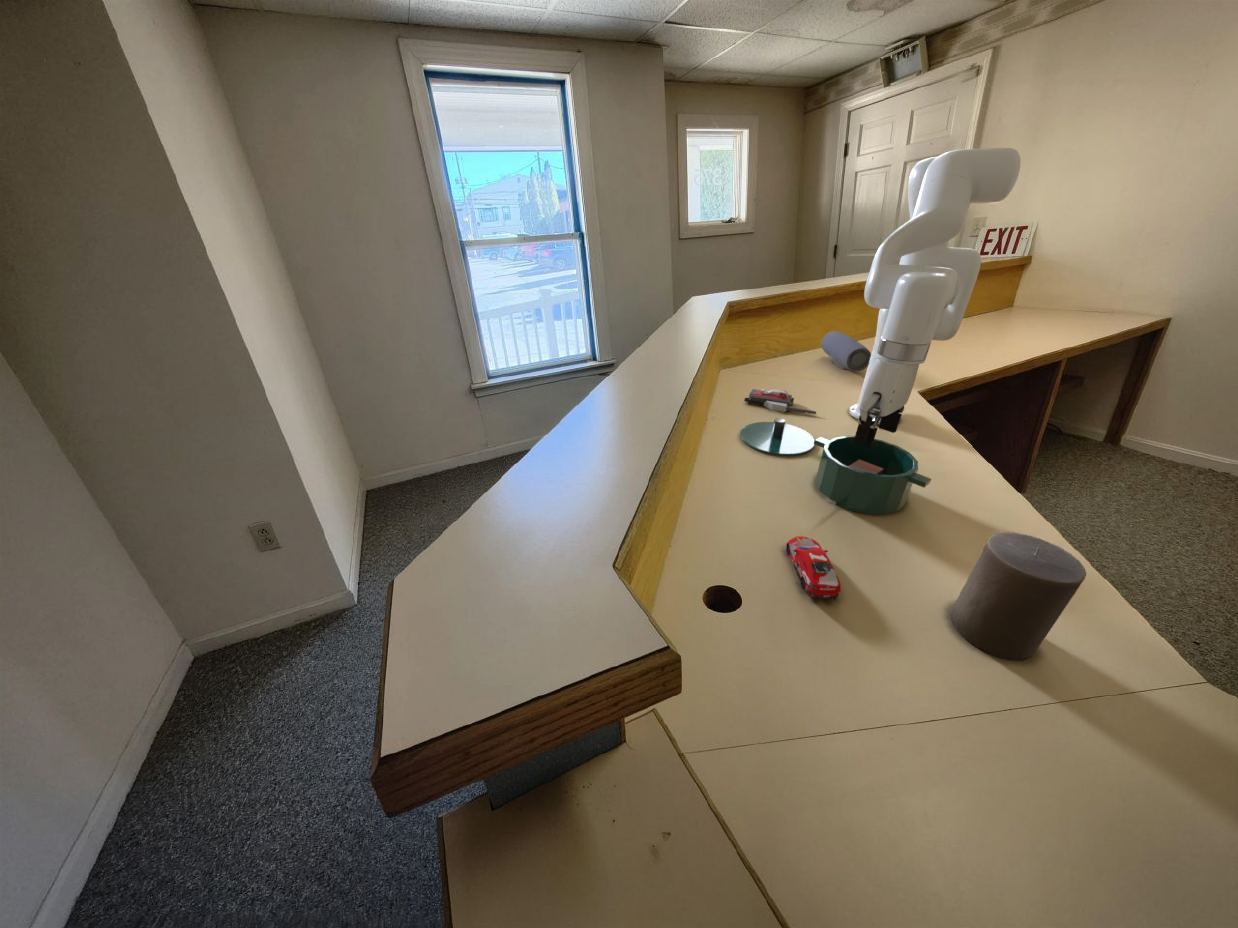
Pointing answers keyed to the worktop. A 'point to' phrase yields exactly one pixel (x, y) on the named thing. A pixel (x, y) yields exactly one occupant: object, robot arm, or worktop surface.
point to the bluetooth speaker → (845, 351)
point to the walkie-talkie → (774, 400)
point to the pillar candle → (1015, 594)
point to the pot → (867, 475)
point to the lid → (777, 438)
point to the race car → (813, 568)
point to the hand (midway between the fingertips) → (874, 437)
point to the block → (866, 467)
